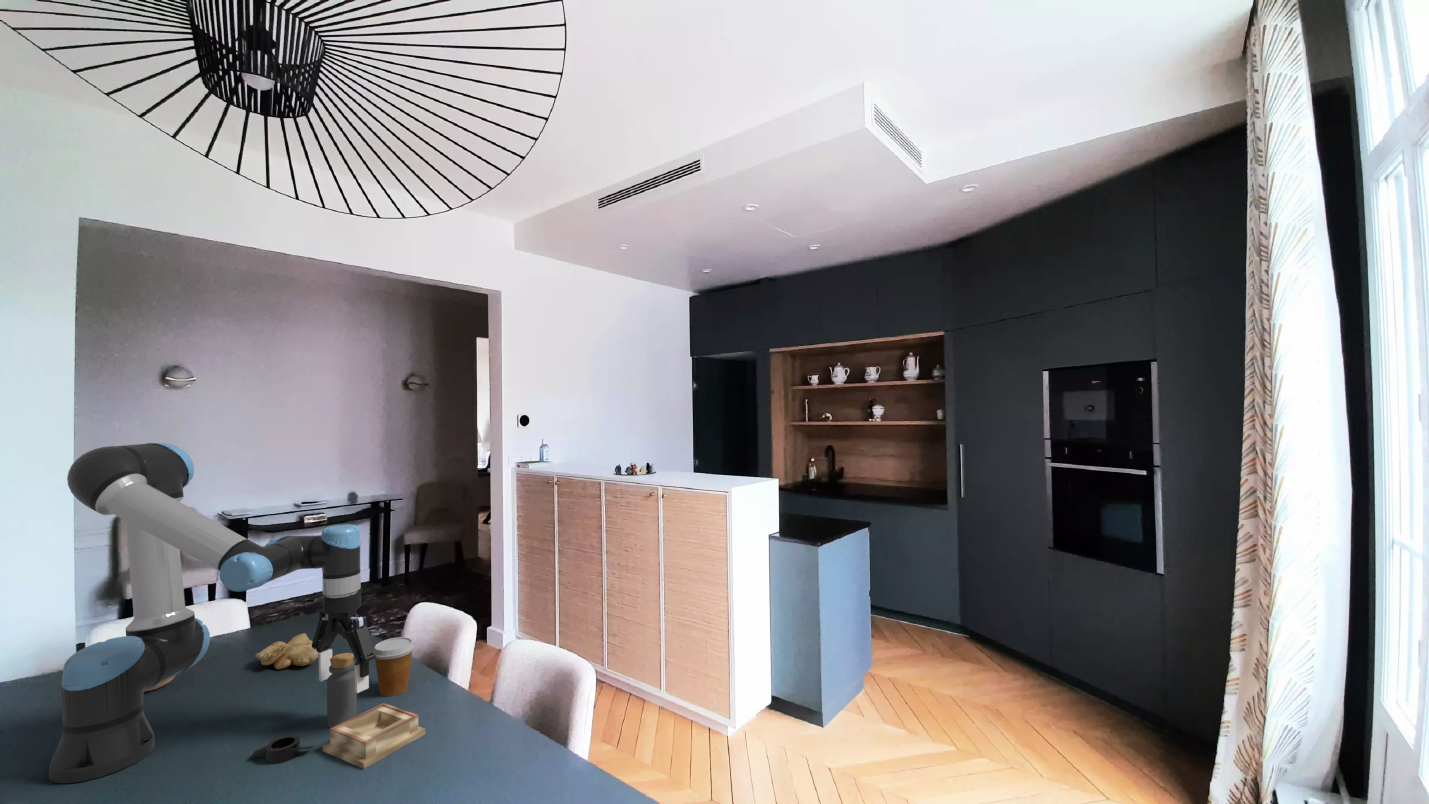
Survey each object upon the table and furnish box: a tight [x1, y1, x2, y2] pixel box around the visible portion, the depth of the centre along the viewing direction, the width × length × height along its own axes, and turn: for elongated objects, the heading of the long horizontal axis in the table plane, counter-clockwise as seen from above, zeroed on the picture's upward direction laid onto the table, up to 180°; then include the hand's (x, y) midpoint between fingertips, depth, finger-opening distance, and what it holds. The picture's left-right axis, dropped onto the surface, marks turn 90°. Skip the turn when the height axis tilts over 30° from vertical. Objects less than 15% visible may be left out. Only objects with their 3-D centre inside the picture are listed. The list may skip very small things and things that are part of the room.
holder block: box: [321, 702, 426, 770], centre depth 128 cm, size 14×14×4 cm
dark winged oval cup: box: [250, 734, 314, 765], centre depth 123 cm, size 8×10×3 cm
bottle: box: [326, 652, 358, 729], centre depth 137 cm, size 6×6×15 cm
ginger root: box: [254, 632, 319, 670], centre depth 167 cm, size 16×16×8 cm
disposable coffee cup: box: [374, 636, 415, 697], centre depth 151 cm, size 10×10×12 cm
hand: (343, 684), depth 137 cm, fingers open, 13 cm apart
